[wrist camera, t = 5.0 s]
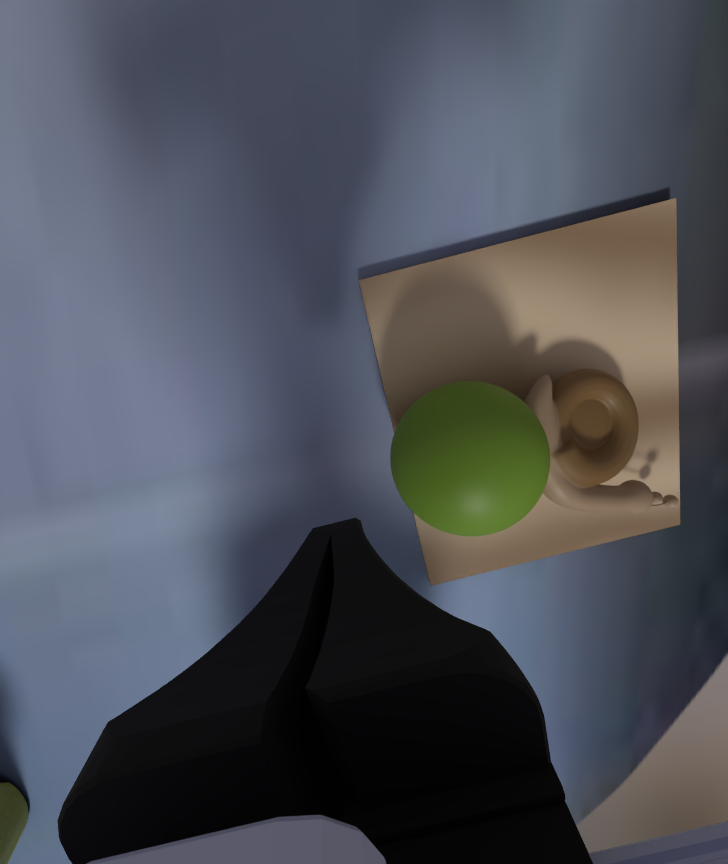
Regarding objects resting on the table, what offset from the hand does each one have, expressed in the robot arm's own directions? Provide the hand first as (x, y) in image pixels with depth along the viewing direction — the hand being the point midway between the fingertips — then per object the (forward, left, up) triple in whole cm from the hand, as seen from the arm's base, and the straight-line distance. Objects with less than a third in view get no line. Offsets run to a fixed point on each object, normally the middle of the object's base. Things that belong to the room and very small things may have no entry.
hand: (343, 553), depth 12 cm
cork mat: (0, -8, -7) cm, 11 cm away
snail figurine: (0, -2, -3) cm, 3 cm away
